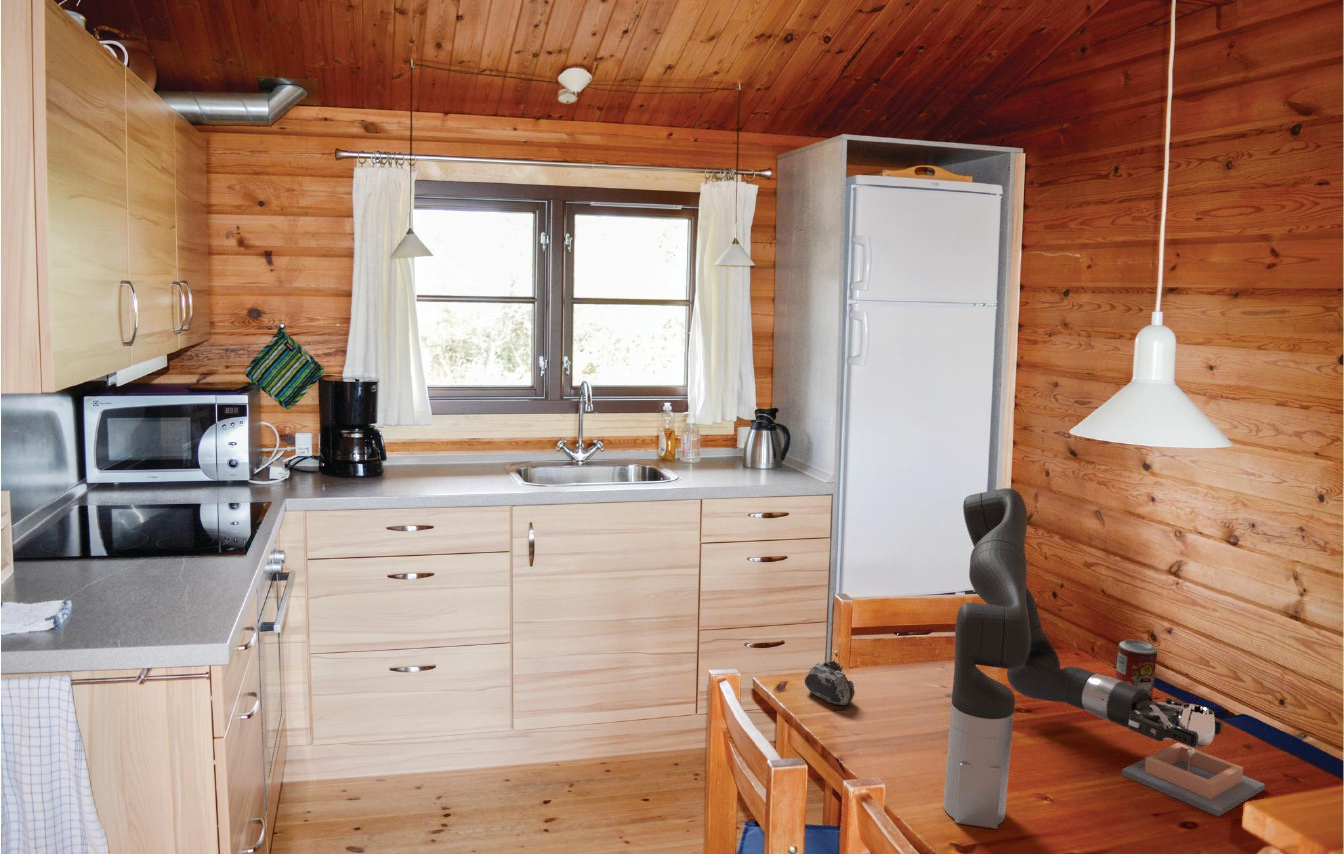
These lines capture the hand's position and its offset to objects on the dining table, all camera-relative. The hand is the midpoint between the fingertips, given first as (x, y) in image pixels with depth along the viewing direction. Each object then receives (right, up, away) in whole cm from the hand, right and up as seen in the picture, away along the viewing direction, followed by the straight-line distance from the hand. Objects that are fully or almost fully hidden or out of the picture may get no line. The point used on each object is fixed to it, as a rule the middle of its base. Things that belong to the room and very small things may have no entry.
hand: (1209, 734), depth 163 cm
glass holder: (-1, -9, +3) cm, 9 cm away
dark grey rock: (-56, -3, +33) cm, 66 cm away
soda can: (+4, -5, +36) cm, 37 cm away
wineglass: (-3, -8, +2) cm, 9 cm away
